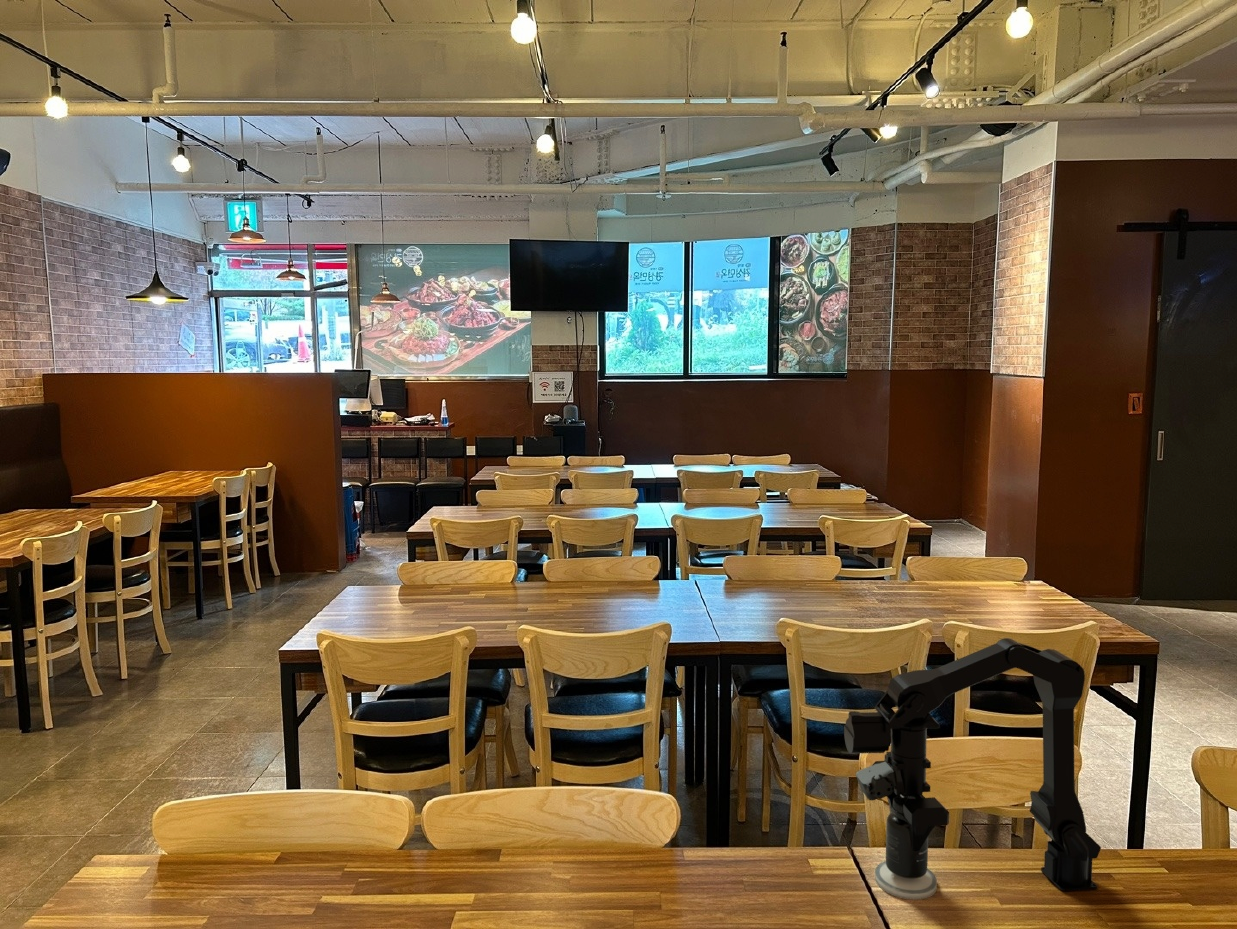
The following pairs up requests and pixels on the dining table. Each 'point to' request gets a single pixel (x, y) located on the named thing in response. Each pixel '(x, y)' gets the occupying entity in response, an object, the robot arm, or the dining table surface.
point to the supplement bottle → (903, 845)
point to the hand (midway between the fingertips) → (906, 839)
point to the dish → (905, 884)
